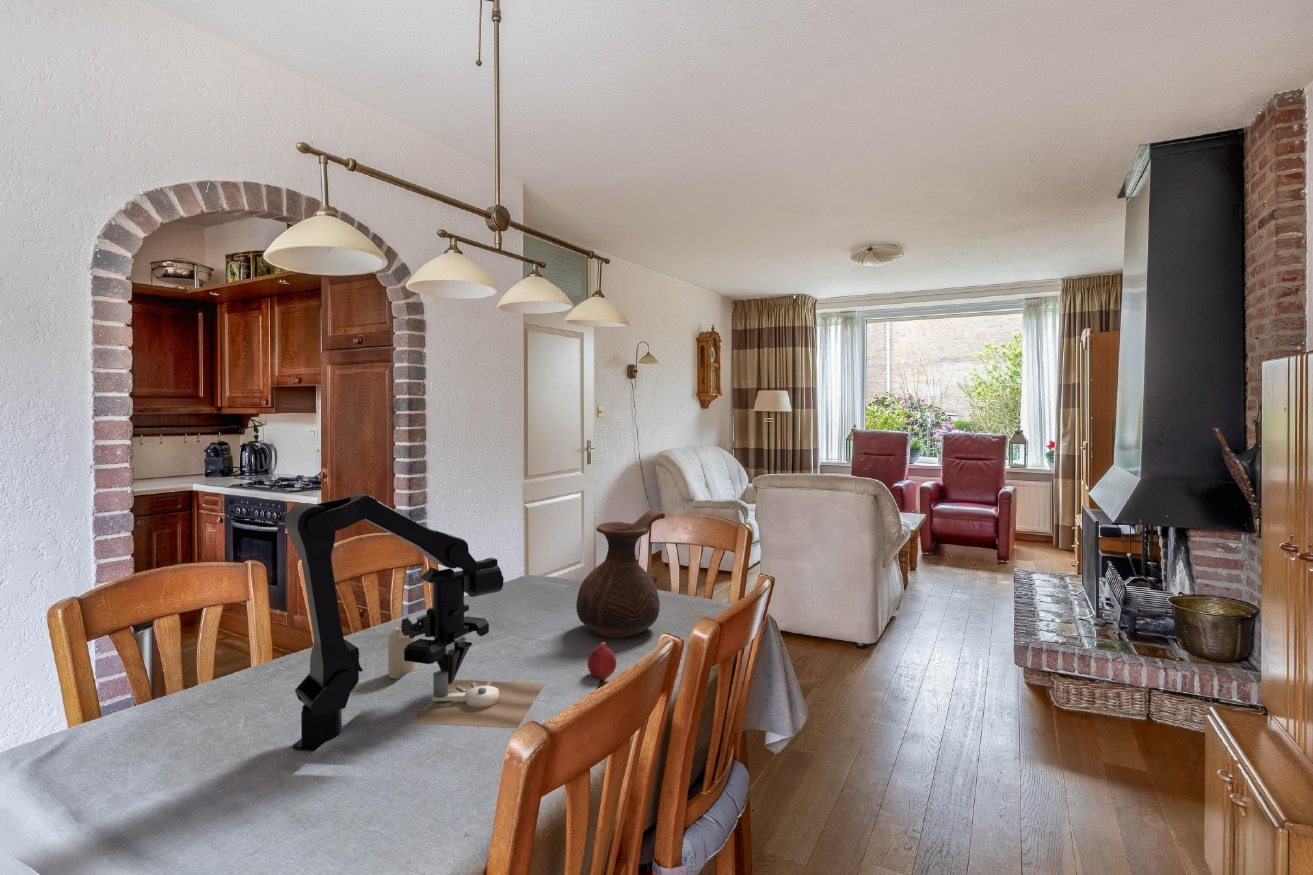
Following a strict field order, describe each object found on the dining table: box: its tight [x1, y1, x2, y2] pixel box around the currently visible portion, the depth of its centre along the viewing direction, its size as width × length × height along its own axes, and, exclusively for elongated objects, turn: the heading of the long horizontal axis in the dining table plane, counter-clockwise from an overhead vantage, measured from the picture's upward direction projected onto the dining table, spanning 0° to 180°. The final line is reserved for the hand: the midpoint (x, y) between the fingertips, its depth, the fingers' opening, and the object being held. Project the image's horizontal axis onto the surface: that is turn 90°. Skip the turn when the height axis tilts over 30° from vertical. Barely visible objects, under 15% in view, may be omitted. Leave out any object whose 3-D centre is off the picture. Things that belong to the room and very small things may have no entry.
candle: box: [387, 625, 417, 680], centre depth 139 cm, size 6×6×10 cm
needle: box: [432, 670, 499, 708], centre depth 123 cm, size 12×6×5 cm, turn 95°
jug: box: [576, 509, 666, 639], centre depth 169 cm, size 22×22×30 cm
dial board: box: [409, 679, 546, 729], centre depth 124 cm, size 19×19×2 cm
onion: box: [587, 641, 617, 682], centre depth 137 cm, size 6×6×8 cm
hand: (449, 683), depth 126 cm, fingers closed
